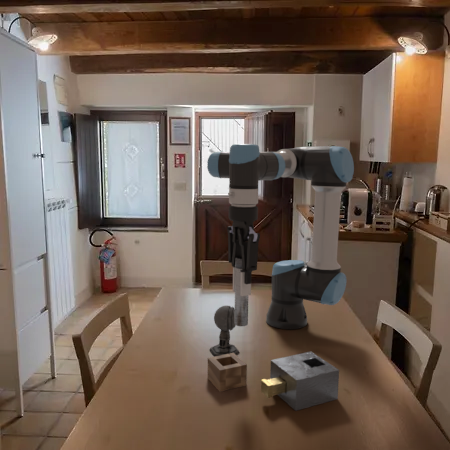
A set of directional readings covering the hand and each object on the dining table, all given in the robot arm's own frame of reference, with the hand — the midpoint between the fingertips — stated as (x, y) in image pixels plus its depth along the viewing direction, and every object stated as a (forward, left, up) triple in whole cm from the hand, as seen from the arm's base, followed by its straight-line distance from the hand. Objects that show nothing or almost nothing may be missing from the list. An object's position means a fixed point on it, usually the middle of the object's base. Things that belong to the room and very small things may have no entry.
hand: (241, 292), depth 121 cm
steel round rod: (0, 0, -9) cm, 9 cm away
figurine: (-5, -20, -26) cm, 33 cm away
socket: (-12, +12, -26) cm, 31 cm away
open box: (+3, -2, -26) cm, 26 cm away
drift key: (-5, +12, -23) cm, 27 cm away
